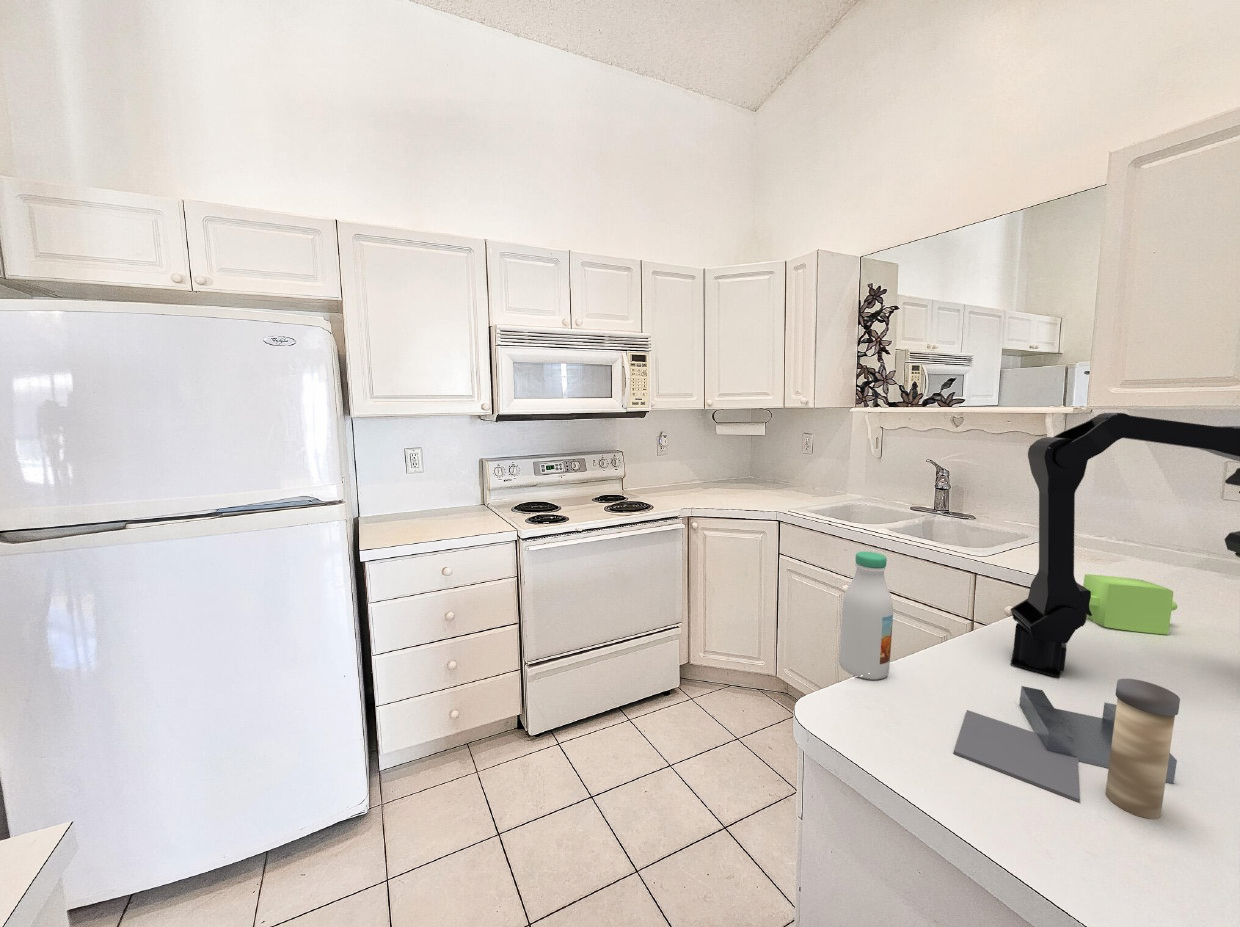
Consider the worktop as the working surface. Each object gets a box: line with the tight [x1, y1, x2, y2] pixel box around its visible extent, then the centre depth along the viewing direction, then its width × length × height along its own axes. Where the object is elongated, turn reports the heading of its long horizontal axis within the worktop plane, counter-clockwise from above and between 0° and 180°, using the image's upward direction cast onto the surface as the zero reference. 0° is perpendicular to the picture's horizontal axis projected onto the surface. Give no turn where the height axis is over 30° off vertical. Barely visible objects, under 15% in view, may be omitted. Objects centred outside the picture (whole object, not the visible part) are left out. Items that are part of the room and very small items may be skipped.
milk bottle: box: [838, 551, 894, 681], centre depth 85 cm, size 8×8×20 cm
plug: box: [1105, 678, 1181, 820], centre depth 56 cm, size 5×5×14 cm
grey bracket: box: [1019, 685, 1178, 785], centre depth 68 cm, size 12×12×3 cm
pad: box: [953, 709, 1081, 803], centre depth 65 cm, size 12×12×1 cm
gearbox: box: [1082, 573, 1178, 635], centre depth 106 cm, size 18×10×10 cm, turn 75°
